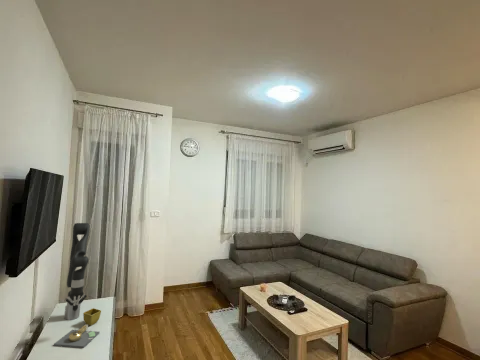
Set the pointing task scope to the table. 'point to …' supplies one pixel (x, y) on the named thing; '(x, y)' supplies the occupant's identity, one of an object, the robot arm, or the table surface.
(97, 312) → the flower pot
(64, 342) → the board
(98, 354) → the table surface
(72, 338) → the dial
